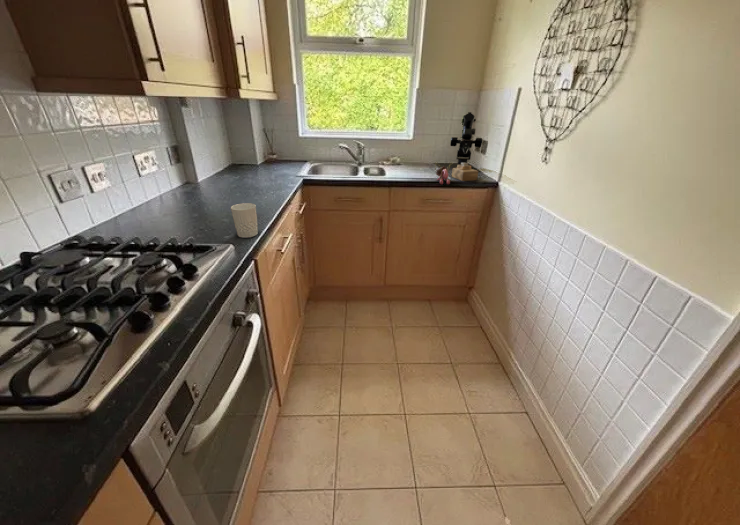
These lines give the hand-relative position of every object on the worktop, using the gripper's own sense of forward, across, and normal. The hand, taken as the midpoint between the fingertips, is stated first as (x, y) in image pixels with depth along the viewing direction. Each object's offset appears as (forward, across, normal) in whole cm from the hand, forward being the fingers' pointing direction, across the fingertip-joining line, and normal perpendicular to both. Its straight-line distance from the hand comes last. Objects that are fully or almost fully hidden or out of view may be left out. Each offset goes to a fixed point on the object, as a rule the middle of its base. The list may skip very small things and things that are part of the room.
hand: (465, 153), depth 202 cm
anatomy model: (+26, -12, -8) cm, 30 cm away
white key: (+10, 0, -2) cm, 10 cm away
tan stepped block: (+17, +1, +1) cm, 17 cm away
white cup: (+95, -76, -78) cm, 145 cm away
